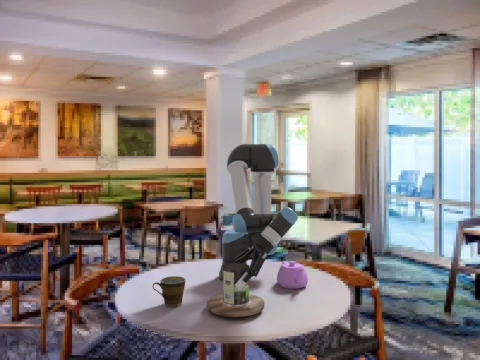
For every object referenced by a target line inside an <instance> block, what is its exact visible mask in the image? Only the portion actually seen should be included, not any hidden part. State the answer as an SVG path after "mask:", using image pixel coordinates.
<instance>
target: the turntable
mask: <svg viewBox="0 0 480 360" xmlns="http://www.w3.org/2000/svg"><path fill="white" fill-rule="evenodd" d="M206 309H207V311H209V312H211V313H212V314H214V315H217V316H220V317H227V318H244V317H248V316H249V317H250V316H253V315H256V314H258V313H261V312H262V311H263V310H264V309H265V301H264V299H263V298H262V297H260V296H258V295H255V294H251V293H249V303H248V304H247V305H245V306H240V307H231V306H227V305H225V304H223V293H219V294H216V295H213V296H211V297H210V298H208V299H207V301H206Z"/></svg>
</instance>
